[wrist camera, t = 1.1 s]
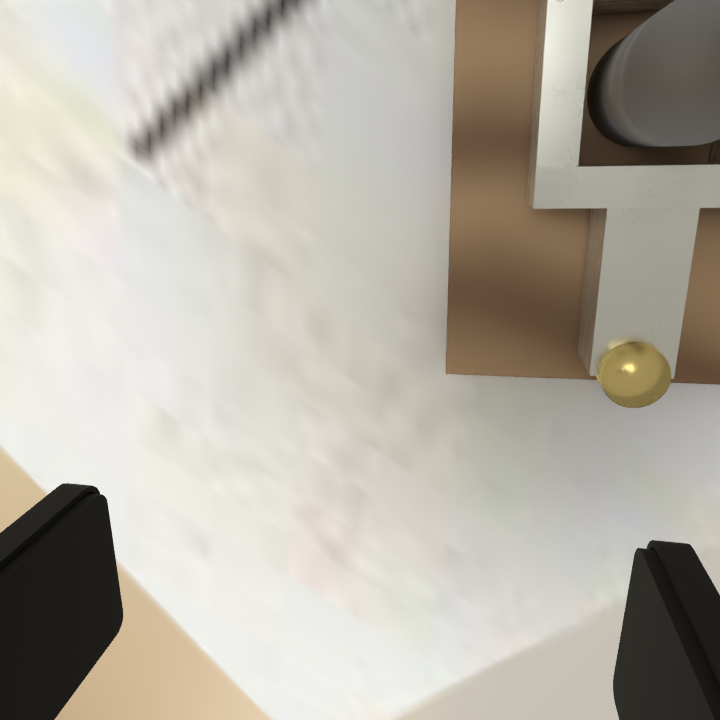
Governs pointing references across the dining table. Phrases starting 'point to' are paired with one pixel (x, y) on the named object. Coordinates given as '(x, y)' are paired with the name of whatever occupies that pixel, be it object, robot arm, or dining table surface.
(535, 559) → the dining table surface
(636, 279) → the square frame with handle
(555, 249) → the board
